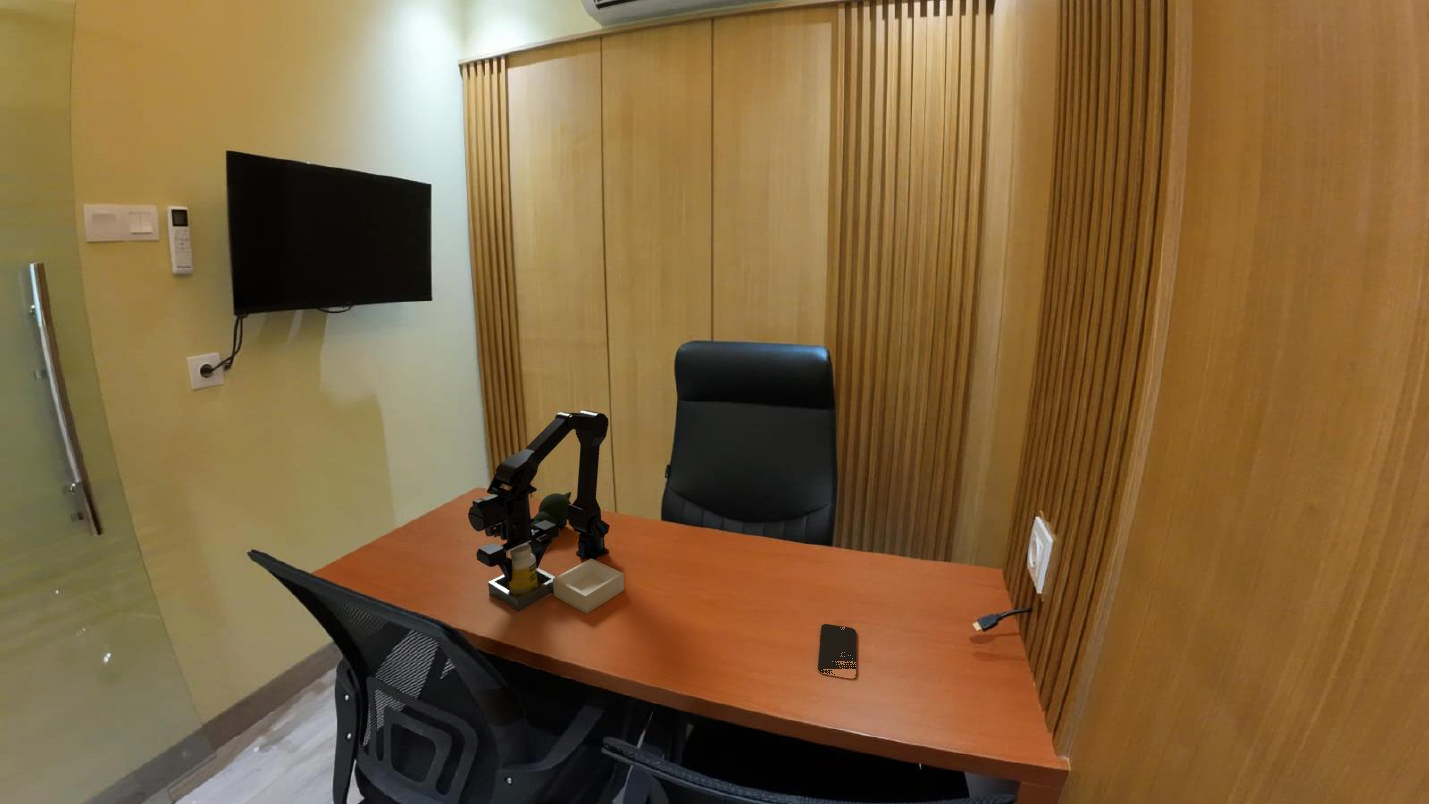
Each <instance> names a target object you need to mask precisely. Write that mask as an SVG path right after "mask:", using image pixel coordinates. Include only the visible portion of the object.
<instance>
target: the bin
mask: <svg viewBox="0 0 1429 804" xmlns="http://www.w3.org/2000/svg"><path fill="white" fill-rule="evenodd" d="M554 577H555V578H553V588H554V593H553V596H554V597H555V598H558V599H559V600H561V601H562V602H565V603H567V605H570V606H572V607H573V608H575V609H577V610H579V611H580V612H582V613H584V614H586V615H588V614H589V613H590V612H592V611H594V610H596V609H597V608H598V607H600V606H601V605H602V604H605V603H607V601H609V600H611V599H612V598H614V597H616V596H617V595H619V594H621V593H622V592H624V591H625V581H624V579H625V578H624V577H625V576H624V573H623V572H621V571H619V570H617V569H615V568H612V567H611V566H609V565H606V564H604V563H602V562H600V561H598V560H597V559H596V560H595V559H589V560H588V559H586V560H585V561H584V562H582V563H580V564H578V565H576V566H575V567H572V568H571V569H568V570H567V571H565V572H563V573H561V574H560V575H557V576H554Z"/></svg>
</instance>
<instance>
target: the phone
mask: <svg viewBox="0 0 1429 804" xmlns="http://www.w3.org/2000/svg"><path fill="white" fill-rule="evenodd" d="M840 627H841V628H840ZM842 627H845V629H844V628H843V629H844V630H843V629H842ZM841 629H842V630H841ZM856 645H857V630H856V629H855V628H854V627H849V626H841V625H837V624H830V623H823V624H822V625H820V636H819V649H818V650H819V652H818V660H817V661H818V662H817V671H818V670H819V671H820V672H822V673H824V672H825V673H827V672H828V671H829V672H828V673H829V674H830V671H832V670H828V671H827V670H825V671H824V670H823V669H842V668H843V669H844V668H845V669H849V668H850V669H851V668H852V669H856V667H855V666H856V665H855V664H856V663H855V664H854V662H856V660H857V659H856V657H857V656H858V655H857V647H856ZM842 652H843V653H842ZM844 652H845V653H844ZM841 653H842V654H841ZM841 655H842V656H843V657H842V656H841ZM848 655H849V656H848ZM850 655H851V656H850ZM840 656H841V657H840ZM844 656H845V657H844ZM852 658H853V659H852ZM832 661H833V662H832ZM835 661H836V662H837V661H845V662H847V661H848V662H849V661H850V662H851V661H853V664H854V665H853V664H852V663H850V662H849V663H844V664H845V665H843V664H842V665H841V664H840V662H839V663H838V662H837V663H836V662H835ZM842 663H843V662H842ZM836 664H837V665H836ZM838 664H840V665H838ZM846 664H847V665H846ZM848 664H849V665H848ZM850 664H852V665H850ZM839 666H840V667H841V668H840V667H839ZM842 666H843V667H842ZM844 666H845V667H844ZM846 666H847V667H846ZM849 666H850V667H849ZM851 666H852V667H851ZM853 666H854V667H853ZM821 670H822V671H821ZM819 671H818V672H819ZM828 673H827V674H828ZM831 673H832V672H831ZM832 674H833V673H832ZM834 675H835V674H834Z"/></svg>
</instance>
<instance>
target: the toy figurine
mask: <svg viewBox="0 0 1429 804" xmlns="http://www.w3.org/2000/svg"><path fill="white" fill-rule="evenodd" d="M531 494H532V493H530V494H529V495H531ZM571 496H572V492H571V491H568V492H566V493H564V494H563V493H557V492H556V493H551V494H547V496H545V497H544V498H543V499H542V500H541V502H540V503H539V506H538V513H537V514H535V515H534V517H533V518H534V522H533V523H531V527H532V526H533V525H535V524H537V523H539V522H542V521H544V520H546V521H549V522H551V523H553V524H555V525H557V526H558V527H559V529H563V528H565V527H567V524H568V519H566V518H567V515H568V505H569V504H572V502H571V500H570V499H571ZM528 544H530V546H531V543H530V542H528ZM531 549H532V546H531Z"/></svg>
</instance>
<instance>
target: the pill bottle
mask: <svg viewBox="0 0 1429 804" xmlns="http://www.w3.org/2000/svg"><path fill="white" fill-rule="evenodd" d="M509 554H510V557H509V558H510V559H512V580H511V582H509V586H508V587H509V589H508V590H509V591H511V592H512V593H514V594H516V595H517V596H521V595H523V594H525V593H527V592H528V591H530V590H532V589H534V588H536V587H538V586H539V584H538V583H539V582H538V580H537V568H536V558H535V556H534V555H533V554H532V548H531V546H530V544H528V543H526V544H524V545H522V546H520V547H517V548H515V549H513V550H511V551H509Z"/></svg>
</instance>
